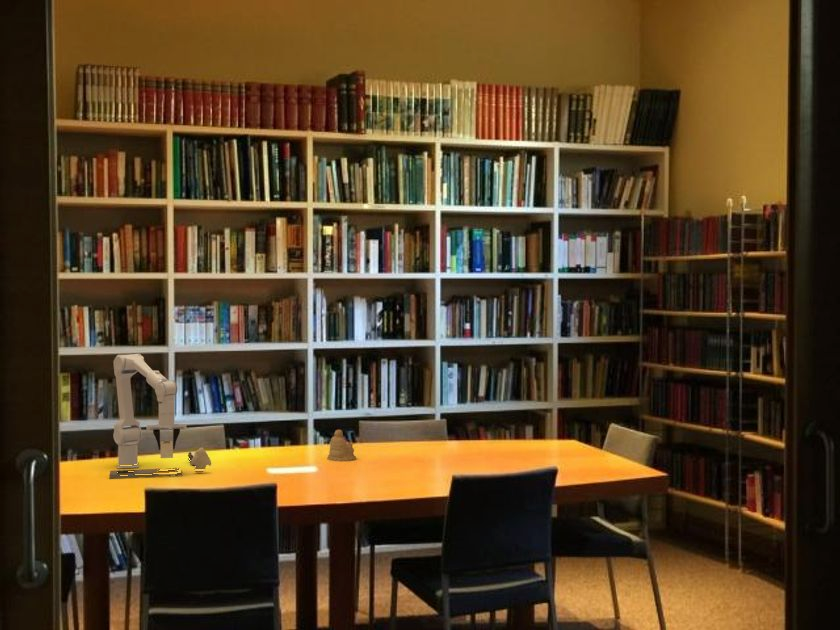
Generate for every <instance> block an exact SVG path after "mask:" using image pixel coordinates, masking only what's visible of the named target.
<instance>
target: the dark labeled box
mask: <svg viewBox="0 0 840 630" xmlns="http://www.w3.org/2000/svg"><path fill="white" fill-rule="evenodd" d="M196 452H197V451H190V452H188V454H187V456H188V457H189V458H190V460H192V458H193V456H194V454H195V453H196ZM189 458H187V459H188V460H189ZM190 460H189V461H190ZM189 461H188V462H189ZM190 462H191V461H190ZM190 462H189V463H190ZM192 466H195V465H192ZM192 466H191V467H192Z"/></svg>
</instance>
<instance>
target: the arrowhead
mask: <svg viewBox="0 0 840 630" xmlns="http://www.w3.org/2000/svg"><path fill="white" fill-rule="evenodd" d="M195 452H196V453H195V454H194V456H193V458H192V460H191V462H189V466H191V465H195V466H196V467H194V470H195V469H205V470H206V467H207V466H212V460H211V458H210V456H209V454H208V453H207V451H206V450H205V449H204V447H200V448H198V449H197V451H195ZM191 467H192V466H191ZM194 472H195V473H197V472H202V473H203V472H205V471H194Z"/></svg>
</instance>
